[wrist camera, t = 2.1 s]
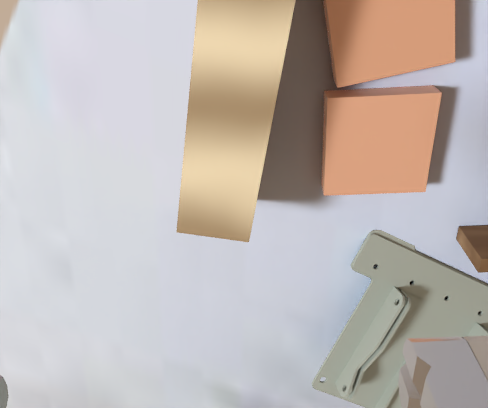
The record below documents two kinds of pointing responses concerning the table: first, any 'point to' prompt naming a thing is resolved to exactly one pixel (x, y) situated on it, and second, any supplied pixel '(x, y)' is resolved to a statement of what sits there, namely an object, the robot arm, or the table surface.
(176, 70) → the table surface
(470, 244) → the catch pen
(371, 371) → the metal bracket
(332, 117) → the tile
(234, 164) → the bar
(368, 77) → the tile
